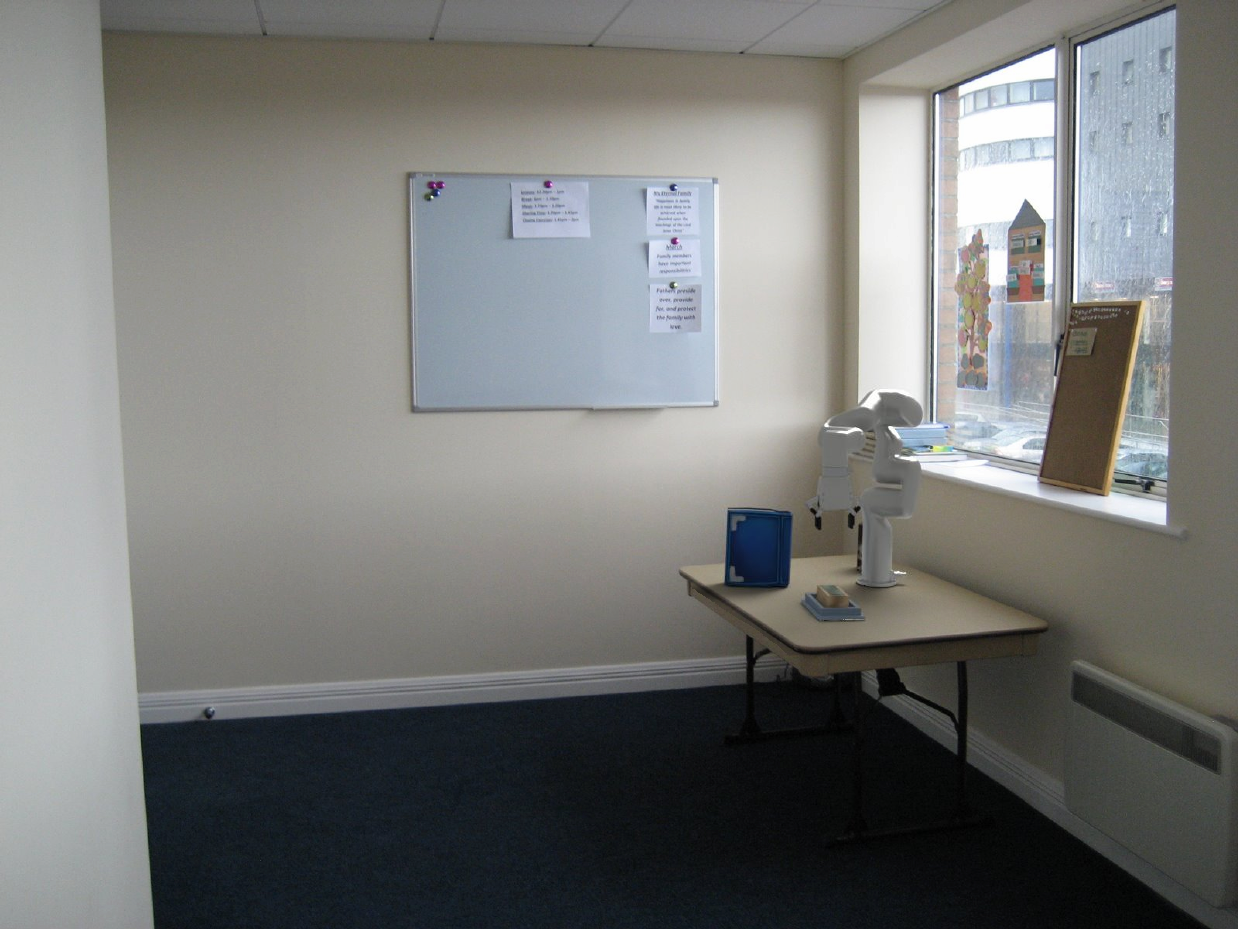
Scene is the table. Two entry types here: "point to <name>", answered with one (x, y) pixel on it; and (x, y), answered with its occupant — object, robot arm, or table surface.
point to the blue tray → (831, 609)
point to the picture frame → (832, 596)
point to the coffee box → (859, 546)
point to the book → (758, 547)
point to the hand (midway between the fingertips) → (834, 528)
